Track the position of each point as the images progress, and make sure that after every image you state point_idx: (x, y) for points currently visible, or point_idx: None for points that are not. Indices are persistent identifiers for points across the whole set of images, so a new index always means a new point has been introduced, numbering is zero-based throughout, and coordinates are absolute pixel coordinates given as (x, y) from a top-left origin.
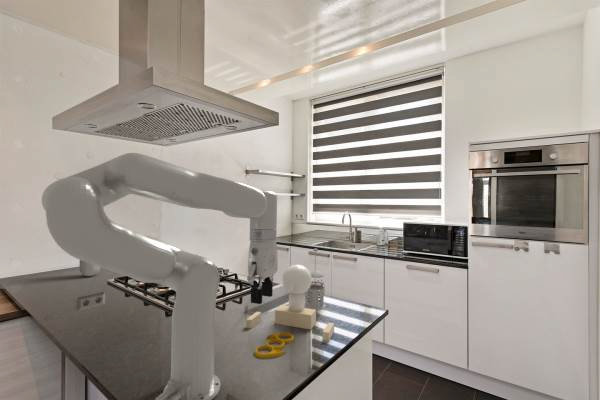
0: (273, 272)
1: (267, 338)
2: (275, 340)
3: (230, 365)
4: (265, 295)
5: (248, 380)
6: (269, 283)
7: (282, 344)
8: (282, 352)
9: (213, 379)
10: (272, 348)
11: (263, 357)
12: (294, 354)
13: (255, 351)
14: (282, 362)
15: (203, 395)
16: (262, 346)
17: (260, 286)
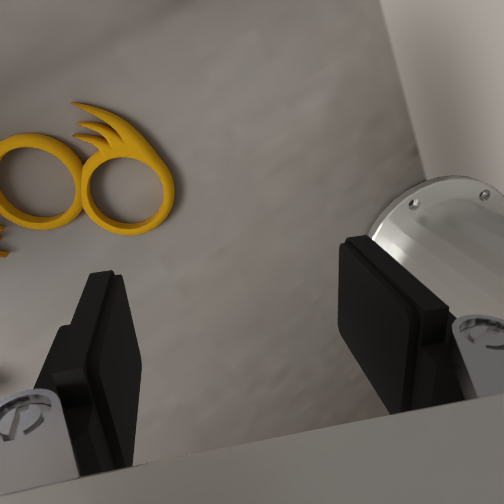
0: (182, 494)
1: (1, 252)
2: (3, 202)
3: (273, 250)
4: (133, 330)
5: (331, 133)
6: (106, 390)
7: (27, 142)
8: (90, 106)
9: (433, 216)
10: (96, 166)
11: (168, 170)
12: (53, 45)
13: (161, 221)
14: (155, 69)
15: (473, 200)
16: (103, 220)
17: (466, 346)
